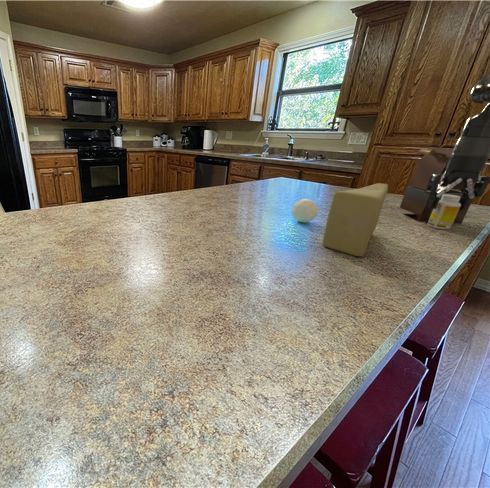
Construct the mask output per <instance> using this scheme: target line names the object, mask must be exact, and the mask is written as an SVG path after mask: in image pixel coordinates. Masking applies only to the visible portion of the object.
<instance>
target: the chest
mask: <svg viewBox="0 0 490 488" xmlns="http://www.w3.org/2000/svg"><path fill="white" fill-rule="evenodd" d="M425 191H426V190H423V189H420V188H416V187H413V186H409V185H406V189H405V192H404V194H403V198H402V199H401V202H400V205H399V208H400V209H402V210H405V211H408V212H410V213H401V215H404V216H406V217H408V218H410V219H412V220H415V221H416V222H420V223H421V222H422V223H428V221H429V218H430V216H431V213H432V211H433V209H431V208H429V207H428V203H429V200H430V198H431V195H430V194H427V193H425ZM444 194H450V195H457V196H460V197H463V195H462V192H461V191H460V190H458V189H450V190H449V191H448V192H445V193H444ZM444 194H443V195H444ZM443 195H442V196H443ZM442 196H440V200H441V198H442ZM460 199H461V198H460ZM473 200H474V198H472V199H471V201H470V203H469V205H468V207H467V208H466V209H465V210H464V211H462V210H459V211H458V213H457V215H456V218H455V220H454V222H453V224H455V225H461V224H462V223H463V222H464V219H465V217H466V215H467V213H468V211H469V209H470V206H471V204H472V202H473ZM459 201H460V200H459Z"/></svg>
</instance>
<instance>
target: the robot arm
mask: <svg viewBox="0 0 490 488" xmlns="http://www.w3.org/2000/svg"><path fill="white" fill-rule="evenodd" d="M470 100H471V101H472V103H474V104H477V105H486V106H485V107H484V109H483V110H482V111H481V112H479V113H476V114H473V115H471V116H469V117H468V119H467V120H466V121H465V124H464V127H463V129H462V131H461V132H460V133H461V134H460V137H459V138H458V140H457V141H456V143H455V145H454V148H453V149H454V150H453V152H452V155H451V157H450V159H449V162H448V164H447V167H446V171H445V172H444V174H443V175H438V174H432V175H431V177H430V180H429V183H428V185H427V188H426V191H425V193H427V194H430V195H431V198H430V200H429V203H428V207H429V208H431V209H436V207H437V205H438V203H439V200H440V196H442V195H443V194H444V193H445V192H448V191H449V190H450V189H453V190H459V191H461V192H462V195H463V197H461V199H460V201H459V203H460V204H461V206H460V209H459V210H462V211H464V210H465V209H466V208H467V207H468V205H469V203H470V201H471V199H472V198H473V199H475V198H481V197H482V196H483V194H484V192H485V191H486V188H487V187H488V184H489V183H490V176H487V175H480V173H481V172H483V170H484V169H485V166H486V164H487V162H488V159H489V157H490V71H489V72H488V73H486V74H485V75H484V76H483V77H482V78H481V79H479V80H478V81H477V83H476V84H475V85H474V87H473V88H472V90H471V92H470Z"/></svg>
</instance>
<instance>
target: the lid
mask: <svg viewBox="0 0 490 488" xmlns="http://www.w3.org/2000/svg"><path fill="white" fill-rule="evenodd" d="M453 150H454V148H446V147H433V146H427V148H421V149H418V154H420V155H423V156H422V157H421V159H420V161H419V163H418V164H417V166H416V168H415V170H413V173H412V175H411V176H410V178H409V180H408V182H407V184H406V186H413V187H416V188H420V189H423V190H426V188H427V185H428V183H429V180H430V177H431V175H432V174H438V175H443V174H444V173H445V172H446V167H447V164H448V162H449V159H450V157H451V155H452V152H453Z"/></svg>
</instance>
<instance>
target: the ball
mask: <svg viewBox="0 0 490 488" xmlns="http://www.w3.org/2000/svg"><path fill="white" fill-rule="evenodd" d="M291 214H292V218H293V219H294V220H295V221H296V222H298V223H303V224H307V223H309V222H312V221H314V220H315V219H316V218H317V216H318V214H319V207H318V205H317V203H315V201H313V199H307V198H302V199H300V200H297V201H296V203H294V204H293V206H292V209H291Z"/></svg>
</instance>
